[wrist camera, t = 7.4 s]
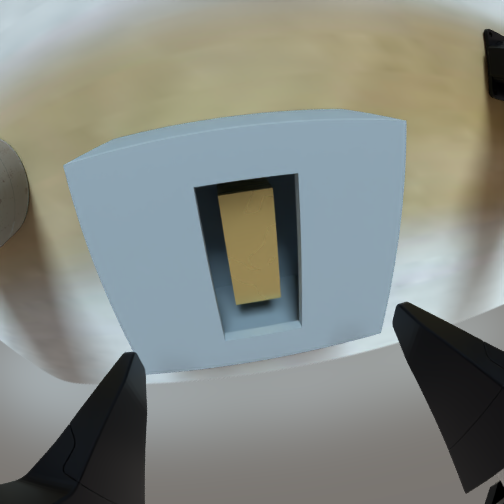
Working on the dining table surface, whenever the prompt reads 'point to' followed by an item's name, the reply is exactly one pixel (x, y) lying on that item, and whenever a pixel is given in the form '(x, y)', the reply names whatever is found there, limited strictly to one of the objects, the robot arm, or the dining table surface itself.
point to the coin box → (213, 242)
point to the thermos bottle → (11, 192)
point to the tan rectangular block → (250, 238)
